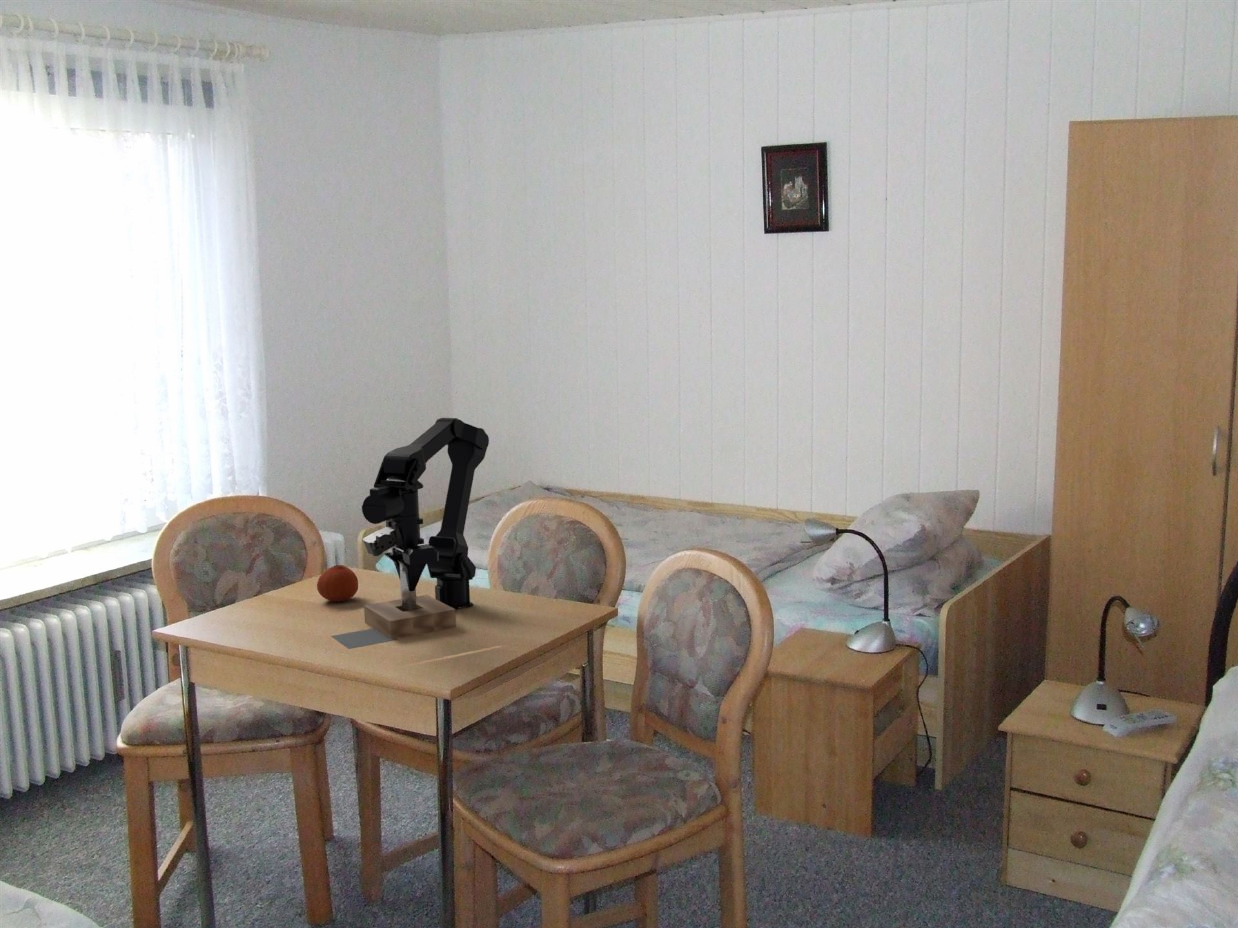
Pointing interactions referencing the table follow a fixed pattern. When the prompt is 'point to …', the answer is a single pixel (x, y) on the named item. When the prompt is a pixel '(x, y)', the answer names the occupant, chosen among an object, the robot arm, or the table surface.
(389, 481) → the robot arm
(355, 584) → the fruit
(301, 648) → the table surface
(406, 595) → the peg
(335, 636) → the panel
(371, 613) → the hole block
